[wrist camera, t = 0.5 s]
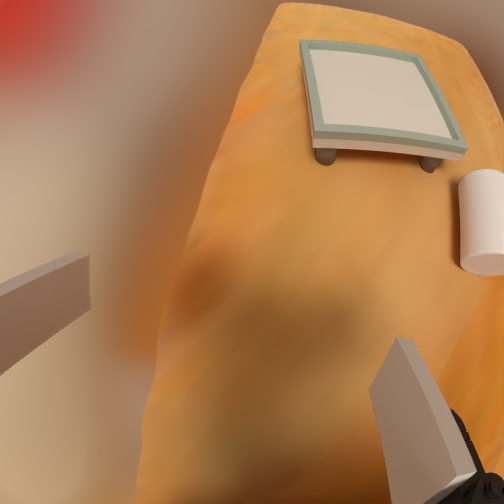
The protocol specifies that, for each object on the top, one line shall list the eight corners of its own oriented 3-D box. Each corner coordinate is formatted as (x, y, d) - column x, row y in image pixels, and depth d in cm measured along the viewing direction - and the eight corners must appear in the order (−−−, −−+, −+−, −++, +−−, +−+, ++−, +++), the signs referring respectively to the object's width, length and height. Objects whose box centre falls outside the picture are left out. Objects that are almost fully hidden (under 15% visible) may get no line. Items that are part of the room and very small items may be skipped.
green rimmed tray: (442, 179, 29) (468, 148, 22) (309, 170, 31) (314, 130, 24) (407, 87, 34) (419, 54, 27) (299, 76, 36) (299, 39, 29)
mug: (447, 267, 26) (487, 246, 18) (447, 192, 28) (478, 159, 21) (510, 285, 24) (550, 271, 16) (508, 217, 26) (540, 193, 19)
